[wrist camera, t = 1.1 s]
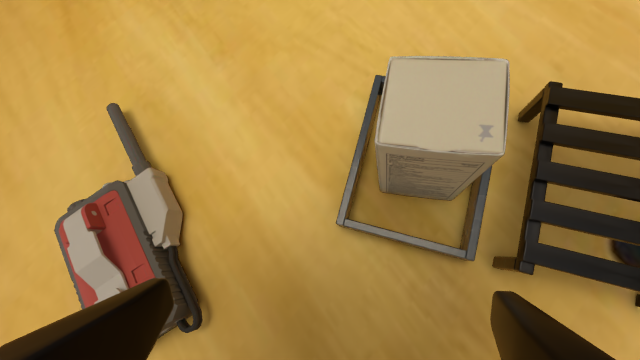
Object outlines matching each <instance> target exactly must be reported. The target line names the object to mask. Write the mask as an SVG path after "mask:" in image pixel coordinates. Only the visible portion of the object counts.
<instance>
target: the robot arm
mask: <svg viewBox="0 0 640 360" xmlns="http://www.w3.org/2000/svg"><path fill="white" fill-rule="evenodd" d="M173 307H174V299H173V295H172V291H171V287H170V283H169V281H168V280H167V279H165V278H152V279H149V280H147V281H145V282H143V283H140V284H138V285H136V286H134V287H131V288H129V289H127V290H125V291H123V292H120V293H118V294H116V295H114V296H111V297H109V298H107V299H105V300H103V301H100V302H98V303H96V304H94V305H91V306H89V307H87V308H85V309H82V310H80V311H78V312H76V313H74V314H71V315H69V316H67V317H65V318H62V319H60V320H58V321H56V322H53V323H51V324H49V325H47V326H45V327H42V328H40V329H38V330H36V331H33V332H31V333H29V334H27V335H25V336H22V337H20V338H18V339H16V340H13V341H11V342H9V343H7V344H4V345H3V346H1V347H0V360H146V359H147V357H148V355H149V354H150V352H151V350H152V348H153V346H154V344H155V342H156V341H157V339H158V337H159V335H160V333H161V331H162V329H163V327H164V325H165V323H166V322H167V320H168V318H169V316H170V314H171V312H172V310H173ZM491 327H492V331H493V334H494V337H495V341H496V344H497V347H498V351H499V354H500V357H501V360H615V359H614V358H612V357H611V356H609V355H608V354H606V353H605V352H603V351H602V350H600V349H599V348H597V347H596V346H594V345H593V344H591V343H590V342H588V341H587V340H585V339H584V338H582V337H581V336H579V335H578V334H576V333H575V332H573V331H572V330H570V329H569V328H567V327H566V326H564V325H563V324H561V323H560V322H558V321H557V320H555V319H554V318H552V317H551V316H549V315H548V314H546V313H545V312H543V311H542V310H540V309H539V308H537V307H536V306H534V305H533V304H531V303H530V302H528V301H527V300H525V299H524V298H522V297H521V296H519V295H518V294H516V293H514V292H511V291H496V292H494V294H493V299H492V309H491Z"/></svg>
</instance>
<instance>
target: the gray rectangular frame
mask: <svg viewBox="0 0 640 360" xmlns="http://www.w3.org/2000/svg"><path fill="white" fill-rule="evenodd" d="M385 77H386V76H383V77H382V76H380V75H376V76H375V79H374V83H373V87H372V91H371V94H370V98H369V102H368V106H367V109H366V113H365V117H364V120H363V124H362V128H361V132H360V135H359V139H358V143H357V146H356V150H355V154H354V158H353V161H352V165H351V169H350V173H349V176H348V180H347V184H346V187H345V191H344V195H343V199H342V202H341V206H340V210H339V214H338V217H337V221H336V224H337V225H339V226H341V227H344V228H348V229H352V230H355V231H359V232H363V233H366V234H370V235H374V236H377V237H381V238H385V239H388V240H392V241H396V242H399V243H403V244H407V245H410V246H414V247H418V248H421V249H425V250H429V251H432V252H436V253H440V254H443V255H447V256H451V257H454V258H459V259H462V260H466V261H474V260H475V255H476V249H477V244H478V239H479V233H480V228H481V223H482V217H483V212H484V207H485V201H486V196H487V191H488V185H489V180H490V175H491V169H492V165H491V166H490V167H489V168H488V169H487V170H486V171H485V172H483V173H482V174H481V175H480V176H479V177H478V178H477V179H475V180H474V181H473V184H472V189H471V194H470V199H469V204H468V209H467V214H466V220H465V225H464V230H463V235H462V240H461V245H460V249H458V248H455V247H451V246H447V245H443V244H440V243H436V242H432V241H428V240H424V239H421V238H417V237H413V236H409V235H406V234H402V233H398V232H394V231H391V230H387V229H383V228H379V227H375V226H372V225H368V224H364V223H360V222H357V221H353V220H349V219H348V218H349V215H350V211H351V207H352V203H353V199H354V196H355V192H356V188H357V184H358V180H359V177H360V173H361V169H362V165H363V161H364V157H365V154H366V150H367V146H368V142H369V138H370V135H371V131H372V127H373V123H374V119H375V115H376V112H377V108H378V104H379V100H380V96H381V95H382V93H383V88H384V82H385Z"/></svg>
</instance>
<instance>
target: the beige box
mask: <svg viewBox="0 0 640 360" xmlns="http://www.w3.org/2000/svg"><path fill="white" fill-rule="evenodd" d="M509 76H510V75H509V61H508V60H507V59H497V58H475V57H447V56H443V57H442V56H401V57H391V58H390V59H389V62H388V68H387V73H386V77H385V82H384V88H383V93H382V98H381V103H380V109H379V115H378V121H377V128H376V135H375V151H376V159H377V169H378V176H379V185H380V191H381V192H385V193H392V194H398V195H406V196H414V197H422V198H431V199H441V200H453V199H454V198H455V197H456V196H457V195H458V194H460V193H461V192H462V191H463V190H464V189H465V188H466V187H468V186H469V185H470V184H471V183H472V182H473V181H474V180H475V179H477V178H478V177H479V176H480V175H481V174H482V173H483V172H485V171H486V170H487V169H488V168H489V167H490V166H491V165H493V164H494V163H495V162H496V161H497V160H498V159H500V158H501V157H502V156H503V155H504V154H505V147H506V136H507V123H508V108H509V87H510V86H509V80H510V79H509Z"/></svg>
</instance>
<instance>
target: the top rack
mask: <svg viewBox="0 0 640 360" xmlns="http://www.w3.org/2000/svg"><path fill="white" fill-rule="evenodd" d="M562 85H563V84H562V83H558V82H549V83H548V84H547V85H546V86H545V88H544V89H543V90H542V91H541V92H540V93H539V94H538V95H537V96H536V97H535V98H534V99H533V100H532V101H531V102H530V103H529V104H528V105H527V106H526V107H525V108H524V109H523V110H522V111H521V112H520V113H519V118H518V121H521V122H530V121H531V120H532V119H533V118H534V117H535V116H537V115H538V114H539V113H540V112H541V113H540V119H539V126H538V132H537V138H536V144H535V150H534V156H533V162H532V168H531V174H530V180H529V186H528V192H527V198H526V204H525V210H524V216H523V223H522V229H521V235H520V241H519V247H518V253H517V257H494V259H493V265H492V266H493V267H494V268H498V269H501V270H508V271H515V272H521V273H524V274H529V275H533V272H534V266H535V265H538V266H542V267H546V268H550V269H554V270H558V271H561V272H565V273H569V274H573V275H577V276H580V277H584V278H588V279H592V280H596V281H599V282H603V283H607V284H611V285H615V286H618V287H622V288H626V289H630V290H634V291H638V292H640V268H639V267H635V266H631V265H627V264H623V263H619V262H615V261H611V260H606V259H602V258H598V257H594V256H590V255H586V254H582V253H578V252H574V251H570V250H566V249H562V248H558V247H554V246H550V245H546V244H542V243H538V240H539V234H540V227H541V223H544V224H548V225H553V226H557V227H561V228H565V229H570V230H574V231H578V232H583V233H587V234H591V235H595V236H600V237H604V238H608V239H613V240H617V241H621V242H625V243H630V244H634V245H638V246H640V222H637V221H633V220H628V219H623V218H619V217H614V216H610V215H605V214H601V213H596V212H591V211H587V210H582V209H578V208H573V207H569V206H564V205H559V204H555V203H550V202H546V201H545V195H546V188H547V183H550V184H554V185H559V186H564V187H569V188H574V189H579V190H584V191H589V192H593V193H598V194H603V195H608V196H613V197H618V198H623V199H627V200H632V201H637V202H640V179H638V178H633V177H628V176H623V175H617V174H612V173H607V172H602V171H596V170H591V169H586V168H581V167H576V166H570V165H565V164H560V163H555V162H551V156H552V149H553V145H556V146H562V147H567V148H573V149H579V150H584V151H590V152H595V153H601V154H606V155H612V156H618V157H623V158H629V159H634V160H640V138H639V137H633V136H627V135H621V134H615V133H609V132H603V131H597V130H591V129H584V128H578V127H572V126H566V125H560V124H557V117H558V111H559V109H565V110H572V111H578V112H585V113H591V114H597V115H604V116H610V117H617V118H623V119H630V120H636V121H640V98H632V97H625V96H618V95H611V94H604V93H597V92H590V91H583V90H575V89H568V88H562ZM636 306H637V307H640V294H637V296H636Z"/></svg>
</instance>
